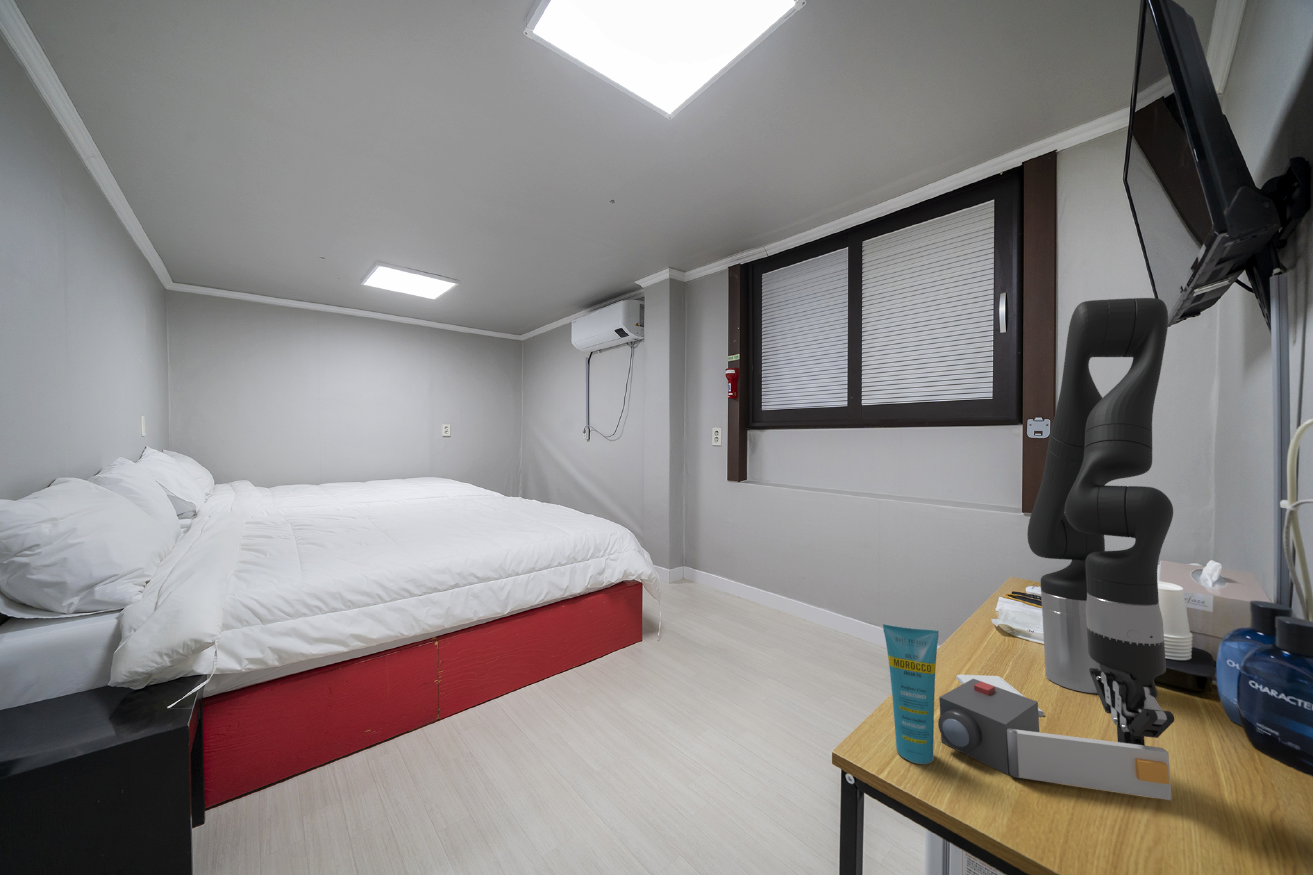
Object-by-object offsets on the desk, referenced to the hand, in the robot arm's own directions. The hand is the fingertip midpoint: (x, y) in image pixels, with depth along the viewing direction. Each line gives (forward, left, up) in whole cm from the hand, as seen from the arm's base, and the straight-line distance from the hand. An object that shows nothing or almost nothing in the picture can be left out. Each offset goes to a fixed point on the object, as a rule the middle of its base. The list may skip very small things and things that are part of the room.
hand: (1131, 756), depth 63 cm
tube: (+19, -19, -4) cm, 27 cm away
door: (+7, -3, -3) cm, 8 cm away
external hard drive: (-11, -20, -4) cm, 24 cm away
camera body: (+8, -14, -4) cm, 17 cm away
